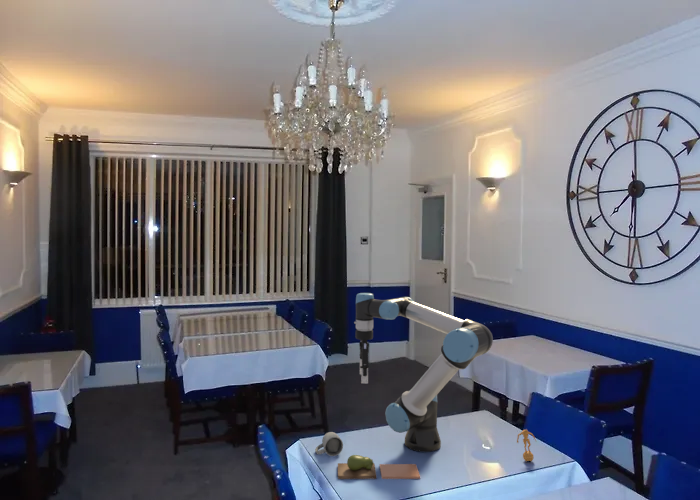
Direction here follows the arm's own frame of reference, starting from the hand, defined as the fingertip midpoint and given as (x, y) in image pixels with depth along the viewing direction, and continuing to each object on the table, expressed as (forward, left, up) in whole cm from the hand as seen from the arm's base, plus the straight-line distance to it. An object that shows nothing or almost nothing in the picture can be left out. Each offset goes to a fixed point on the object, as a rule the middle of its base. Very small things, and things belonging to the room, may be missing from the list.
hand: (363, 378), depth 223 cm
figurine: (-64, +20, -27) cm, 72 cm away
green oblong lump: (+3, +30, -26) cm, 39 cm away
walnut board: (+4, +30, -27) cm, 40 cm away
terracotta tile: (-12, +30, -27) cm, 42 cm away
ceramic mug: (+15, +13, -27) cm, 33 cm away
